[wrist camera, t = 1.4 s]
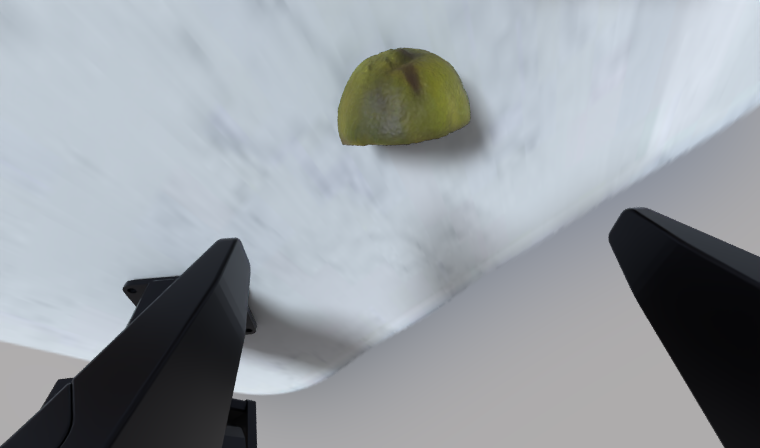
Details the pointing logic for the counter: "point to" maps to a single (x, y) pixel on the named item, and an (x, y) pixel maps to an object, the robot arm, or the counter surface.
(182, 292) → the robot arm
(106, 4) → the counter surface
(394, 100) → the lime
